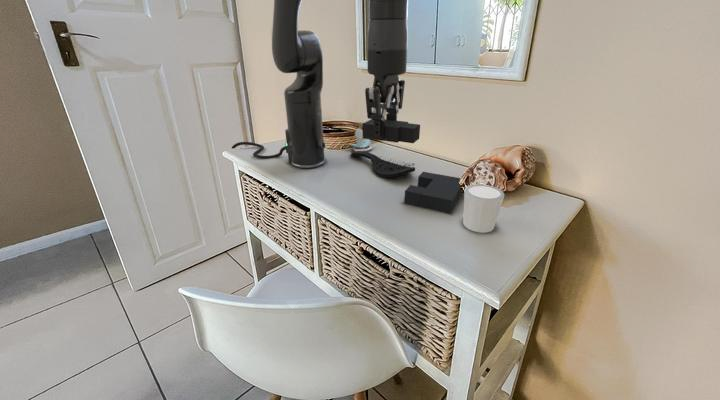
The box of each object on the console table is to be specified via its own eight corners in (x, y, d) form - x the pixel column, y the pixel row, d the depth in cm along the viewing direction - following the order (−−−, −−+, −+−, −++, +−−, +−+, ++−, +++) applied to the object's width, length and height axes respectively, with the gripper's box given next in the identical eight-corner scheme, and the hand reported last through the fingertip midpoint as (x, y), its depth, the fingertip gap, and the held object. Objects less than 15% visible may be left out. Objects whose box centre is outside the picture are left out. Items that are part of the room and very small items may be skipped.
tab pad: (362, 137, 70) (362, 123, 69) (374, 131, 74) (374, 117, 73) (411, 144, 65) (412, 129, 64) (420, 137, 70) (421, 123, 68)
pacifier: (376, 150, 103) (365, 144, 108) (377, 130, 100) (365, 125, 105) (356, 154, 100) (346, 149, 104) (357, 134, 97) (346, 129, 101)
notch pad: (404, 203, 71) (404, 190, 70) (422, 182, 81) (422, 171, 79) (450, 213, 67) (452, 200, 66) (463, 190, 76) (465, 178, 75)
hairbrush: (363, 142, 100) (423, 161, 82) (363, 154, 102) (422, 175, 83) (340, 148, 96) (398, 169, 77) (341, 160, 98) (398, 184, 79)
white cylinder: (503, 223, 63) (510, 190, 60) (488, 238, 59) (495, 204, 56) (469, 212, 67) (474, 180, 64) (453, 225, 63) (457, 192, 60)
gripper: (385, 45, 70) (383, 125, 78) (351, 48, 59) (353, 141, 66) (419, 45, 67) (413, 128, 74) (390, 49, 55) (387, 146, 63)
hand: (385, 134), depth 70 cm, fingers closed on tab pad, 5 cm apart
